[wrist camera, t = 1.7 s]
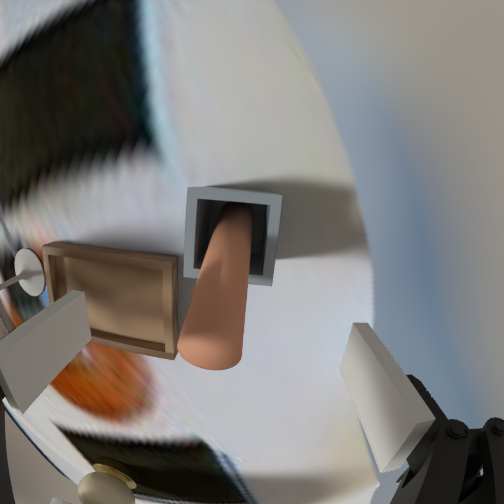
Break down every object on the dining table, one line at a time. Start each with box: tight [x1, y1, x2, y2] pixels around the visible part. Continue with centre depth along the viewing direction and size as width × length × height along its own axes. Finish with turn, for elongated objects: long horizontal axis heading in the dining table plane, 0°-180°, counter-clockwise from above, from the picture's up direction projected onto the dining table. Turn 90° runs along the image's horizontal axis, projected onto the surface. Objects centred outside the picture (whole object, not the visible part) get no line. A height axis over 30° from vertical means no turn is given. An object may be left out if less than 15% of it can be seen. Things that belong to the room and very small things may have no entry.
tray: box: [42, 242, 178, 360], centre depth 29 cm, size 12×18×2 cm, turn 84°
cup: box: [183, 186, 283, 286], centre depth 24 cm, size 7×7×8 cm
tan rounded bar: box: [177, 201, 254, 370], centre depth 20 cm, size 8×3×16 cm, turn 174°
